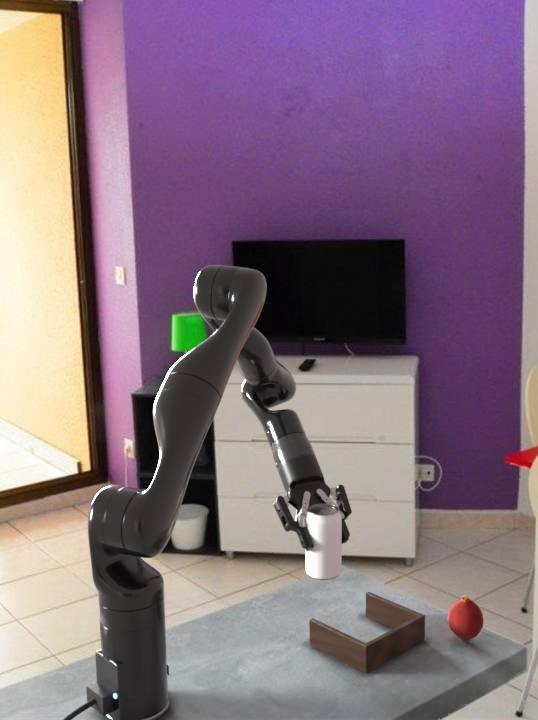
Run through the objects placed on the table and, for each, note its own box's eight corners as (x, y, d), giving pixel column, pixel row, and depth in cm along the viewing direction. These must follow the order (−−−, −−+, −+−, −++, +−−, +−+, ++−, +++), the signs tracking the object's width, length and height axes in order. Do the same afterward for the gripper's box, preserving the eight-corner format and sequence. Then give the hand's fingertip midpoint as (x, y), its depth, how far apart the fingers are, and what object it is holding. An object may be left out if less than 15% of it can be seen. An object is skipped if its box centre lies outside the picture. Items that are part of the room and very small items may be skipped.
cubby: (366, 673, 141) (366, 646, 140) (309, 644, 150) (309, 619, 149) (425, 640, 151) (425, 615, 150) (368, 615, 160) (368, 591, 159)
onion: (462, 628, 155) (463, 584, 153) (489, 640, 150) (491, 595, 149) (440, 640, 151) (441, 595, 149) (468, 653, 146) (469, 606, 145)
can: (342, 566, 165) (342, 503, 163) (340, 581, 158) (340, 516, 156) (307, 564, 165) (306, 502, 163) (303, 580, 159) (303, 515, 157)
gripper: (267, 458, 162) (299, 544, 153) (337, 447, 168) (371, 528, 160) (255, 478, 167) (285, 562, 159) (323, 467, 174) (355, 546, 165)
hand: (328, 545), depth 159 cm, fingers closed on can, 6 cm apart
